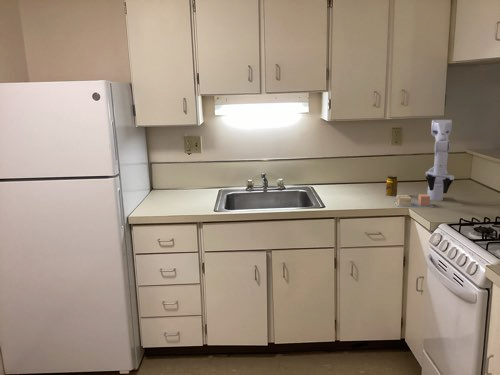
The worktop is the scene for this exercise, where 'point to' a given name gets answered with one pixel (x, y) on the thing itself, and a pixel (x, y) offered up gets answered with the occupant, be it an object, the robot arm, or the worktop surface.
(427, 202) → the terracotta block
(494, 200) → the worktop surface
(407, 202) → the block
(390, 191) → the condiment
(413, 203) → the board
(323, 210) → the worktop surface
